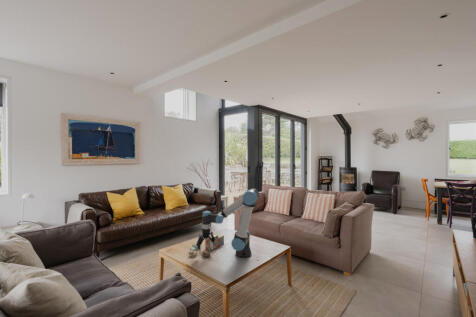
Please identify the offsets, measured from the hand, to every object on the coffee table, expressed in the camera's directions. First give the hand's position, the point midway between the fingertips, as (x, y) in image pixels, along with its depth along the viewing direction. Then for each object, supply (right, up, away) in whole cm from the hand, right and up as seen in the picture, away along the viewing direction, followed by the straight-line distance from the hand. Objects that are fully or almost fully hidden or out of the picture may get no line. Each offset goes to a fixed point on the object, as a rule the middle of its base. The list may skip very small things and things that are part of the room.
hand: (205, 250), depth 215 cm
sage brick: (-14, -5, +8) cm, 17 cm away
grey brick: (-12, -5, +16) cm, 20 cm away
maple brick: (-12, -5, +1) cm, 13 cm away
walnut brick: (0, -5, 0) cm, 5 cm away
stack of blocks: (+6, -5, +22) cm, 23 cm away
